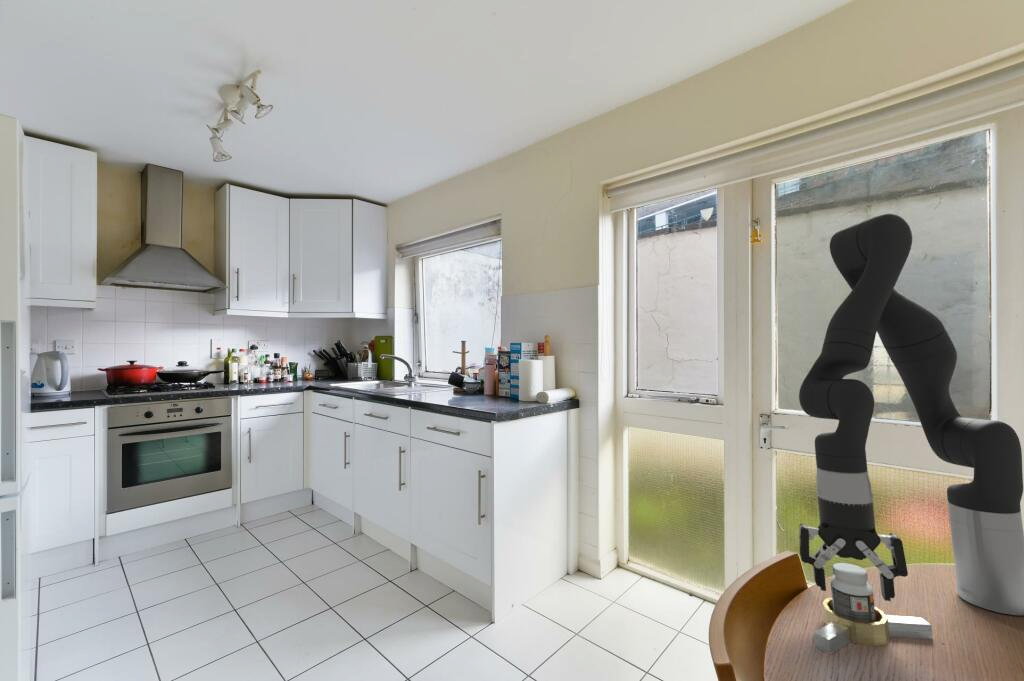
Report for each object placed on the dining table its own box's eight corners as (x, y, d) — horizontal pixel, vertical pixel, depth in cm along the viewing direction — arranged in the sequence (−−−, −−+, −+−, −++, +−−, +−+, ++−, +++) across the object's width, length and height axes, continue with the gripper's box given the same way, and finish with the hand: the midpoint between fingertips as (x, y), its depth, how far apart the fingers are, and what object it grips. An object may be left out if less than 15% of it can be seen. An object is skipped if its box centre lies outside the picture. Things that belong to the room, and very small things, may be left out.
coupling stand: (882, 609, 78) (881, 591, 78) (936, 638, 70) (934, 617, 70) (782, 623, 75) (781, 604, 76) (826, 655, 67) (824, 633, 67)
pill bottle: (885, 641, 69) (879, 577, 70) (845, 638, 71) (839, 575, 71) (864, 621, 75) (859, 562, 76) (827, 618, 76) (822, 560, 77)
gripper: (891, 493, 74) (901, 592, 73) (792, 486, 81) (800, 576, 80) (905, 506, 67) (916, 615, 66) (796, 497, 74) (805, 595, 73)
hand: (853, 593), depth 73 cm, fingers open, 8 cm apart
